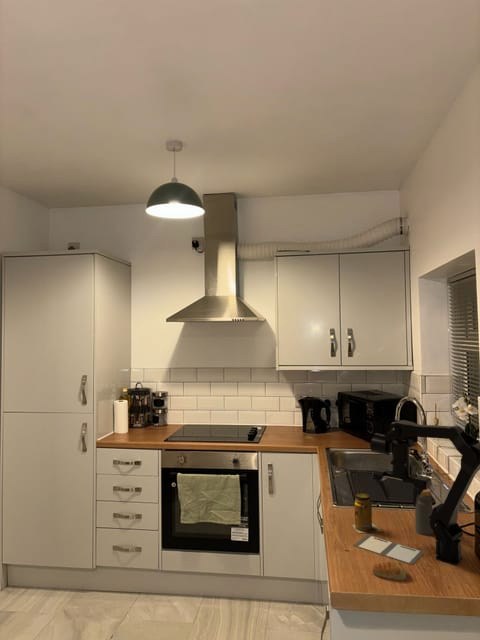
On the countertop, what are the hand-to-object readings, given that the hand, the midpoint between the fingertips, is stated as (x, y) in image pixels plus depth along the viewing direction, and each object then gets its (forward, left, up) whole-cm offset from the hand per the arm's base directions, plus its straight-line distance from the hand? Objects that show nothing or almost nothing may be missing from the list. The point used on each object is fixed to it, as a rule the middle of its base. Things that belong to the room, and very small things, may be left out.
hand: (401, 503), depth 158 cm
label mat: (+2, +8, -13) cm, 15 cm away
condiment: (+14, -2, -13) cm, 20 cm away
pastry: (-6, +23, -14) cm, 27 cm away
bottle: (-3, -13, -13) cm, 19 cm away
